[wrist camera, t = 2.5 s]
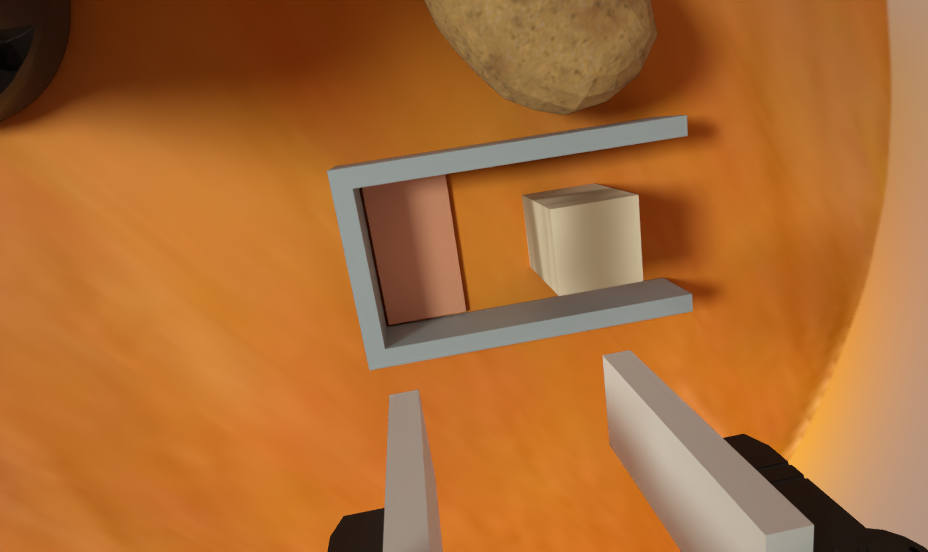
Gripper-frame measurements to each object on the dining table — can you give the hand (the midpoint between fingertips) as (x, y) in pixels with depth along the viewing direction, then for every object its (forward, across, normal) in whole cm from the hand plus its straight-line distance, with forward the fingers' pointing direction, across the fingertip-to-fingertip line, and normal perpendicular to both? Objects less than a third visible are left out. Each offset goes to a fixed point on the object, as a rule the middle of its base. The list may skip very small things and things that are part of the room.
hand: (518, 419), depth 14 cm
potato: (+23, +6, +13) cm, 27 cm away
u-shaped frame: (+23, +5, 0) cm, 23 cm away
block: (+23, +8, 0) cm, 24 cm away
